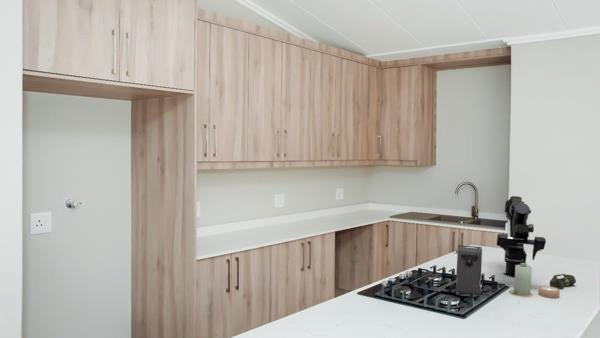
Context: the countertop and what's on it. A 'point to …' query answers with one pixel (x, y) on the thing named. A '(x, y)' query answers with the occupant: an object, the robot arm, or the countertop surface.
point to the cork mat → (519, 295)
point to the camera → (468, 270)
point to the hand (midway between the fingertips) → (521, 258)
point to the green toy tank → (562, 281)
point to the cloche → (522, 279)
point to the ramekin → (549, 292)
